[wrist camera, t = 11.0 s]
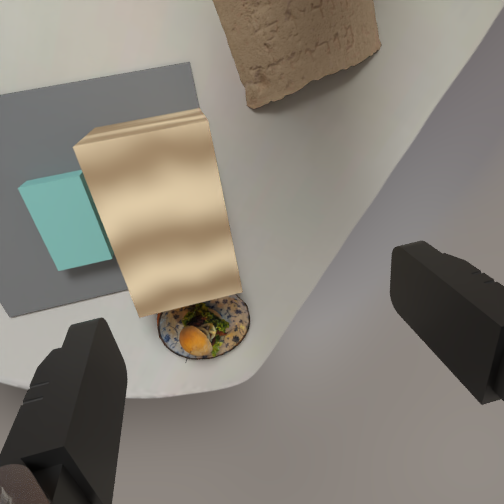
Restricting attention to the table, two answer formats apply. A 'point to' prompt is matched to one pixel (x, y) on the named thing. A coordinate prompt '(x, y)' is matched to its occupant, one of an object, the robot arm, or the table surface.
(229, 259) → the oak block
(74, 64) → the table surface
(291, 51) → the clay tablet
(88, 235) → the card box
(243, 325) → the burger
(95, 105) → the mat
